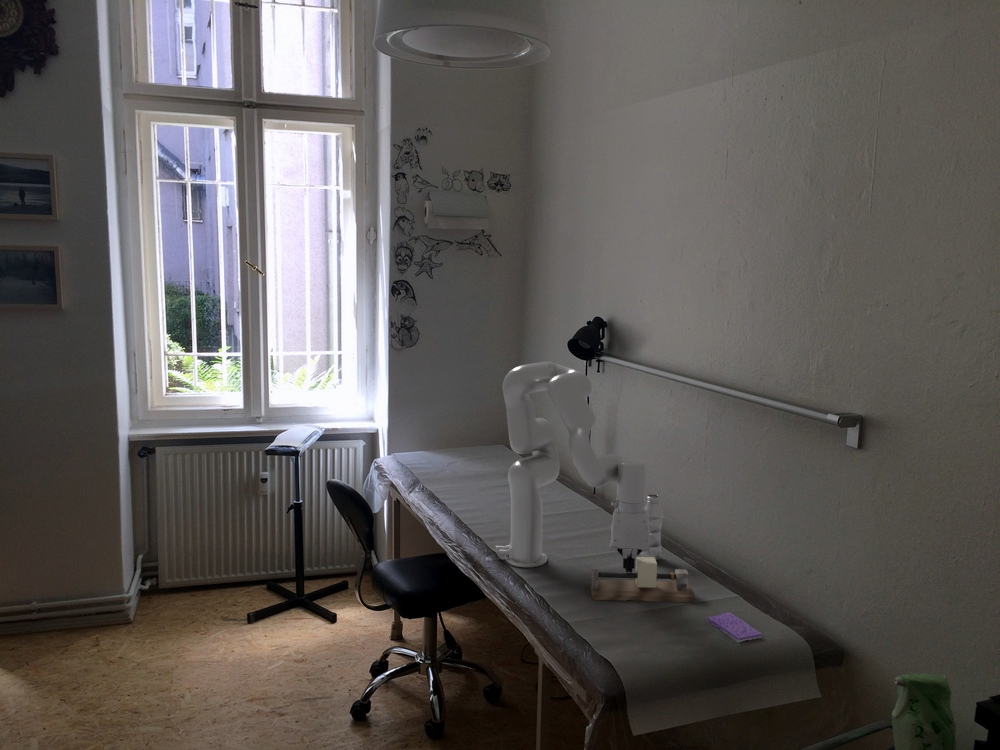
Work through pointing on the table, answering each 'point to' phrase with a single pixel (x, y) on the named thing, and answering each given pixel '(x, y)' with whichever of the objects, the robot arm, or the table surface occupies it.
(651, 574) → the cream foam block
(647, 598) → the wooden linear slide
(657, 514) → the plastic bottle
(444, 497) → the table surface
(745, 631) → the sponges
